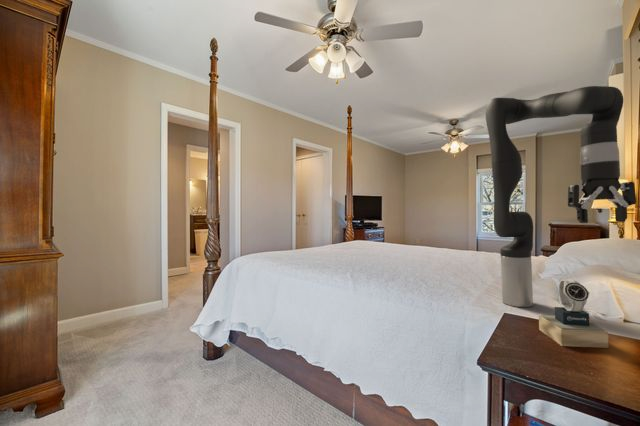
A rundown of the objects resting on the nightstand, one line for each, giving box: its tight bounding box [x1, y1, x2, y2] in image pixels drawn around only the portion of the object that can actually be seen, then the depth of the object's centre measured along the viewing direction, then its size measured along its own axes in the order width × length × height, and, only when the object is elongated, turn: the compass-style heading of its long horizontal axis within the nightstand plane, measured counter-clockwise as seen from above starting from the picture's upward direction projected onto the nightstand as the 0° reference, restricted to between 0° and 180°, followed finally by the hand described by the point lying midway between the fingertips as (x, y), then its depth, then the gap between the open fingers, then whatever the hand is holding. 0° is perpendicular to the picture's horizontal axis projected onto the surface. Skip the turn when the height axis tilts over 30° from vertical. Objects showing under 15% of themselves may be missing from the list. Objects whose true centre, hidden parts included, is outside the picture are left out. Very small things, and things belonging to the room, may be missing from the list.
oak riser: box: [538, 314, 609, 349], centre depth 76 cm, size 10×10×4 cm
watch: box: [554, 279, 591, 326], centre depth 76 cm, size 6×8×11 cm
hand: (601, 222), depth 77 cm, fingers open, 8 cm apart
